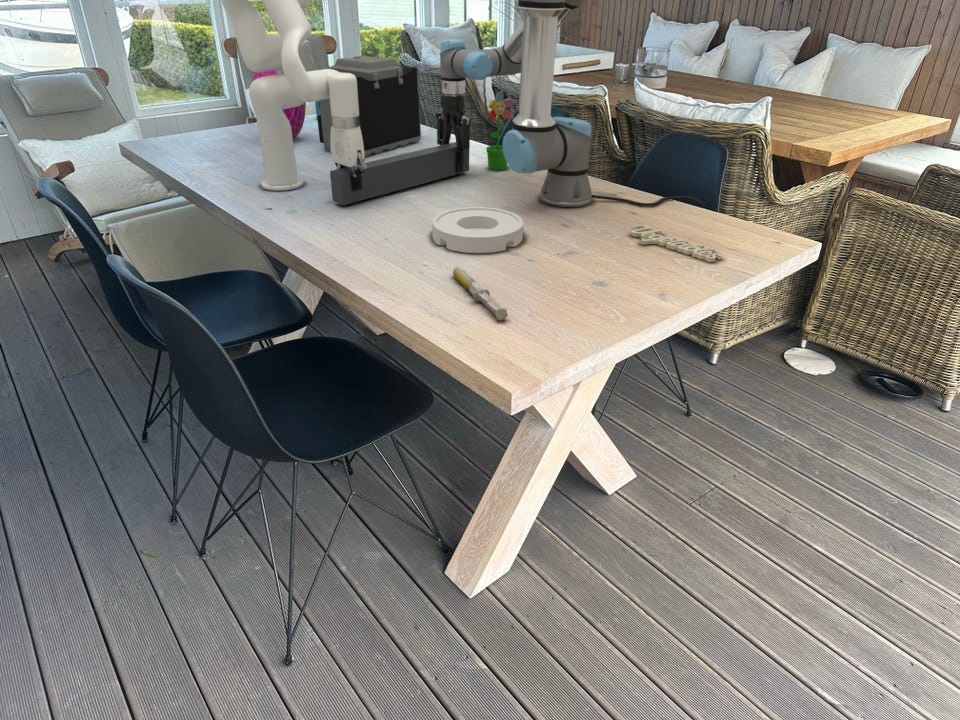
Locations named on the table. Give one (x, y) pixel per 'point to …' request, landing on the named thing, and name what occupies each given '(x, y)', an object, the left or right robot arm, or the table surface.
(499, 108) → the potted flower
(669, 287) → the table surface
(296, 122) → the magenta tall rounded piece
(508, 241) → the ashtray
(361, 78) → the black cooler box
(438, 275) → the table surface
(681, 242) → the decorative sign
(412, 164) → the beam
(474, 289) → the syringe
